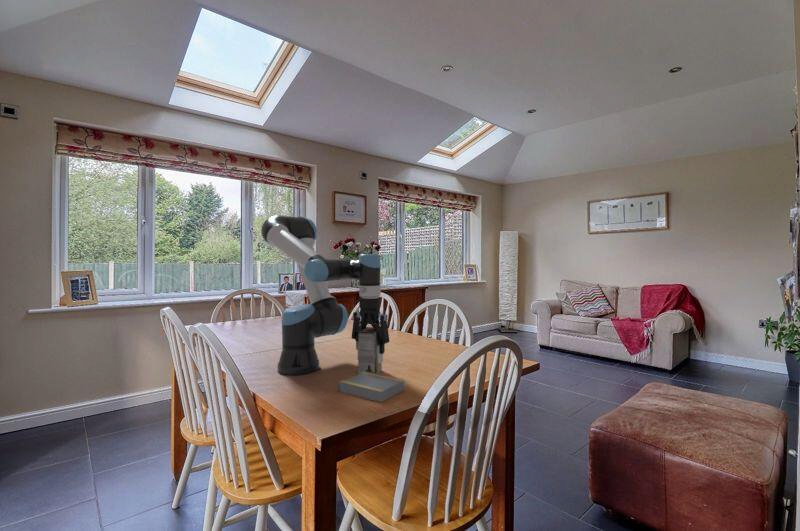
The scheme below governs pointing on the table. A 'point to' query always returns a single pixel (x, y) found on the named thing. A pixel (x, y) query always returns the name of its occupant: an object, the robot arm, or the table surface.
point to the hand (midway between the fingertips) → (370, 360)
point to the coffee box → (368, 351)
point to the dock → (371, 386)
